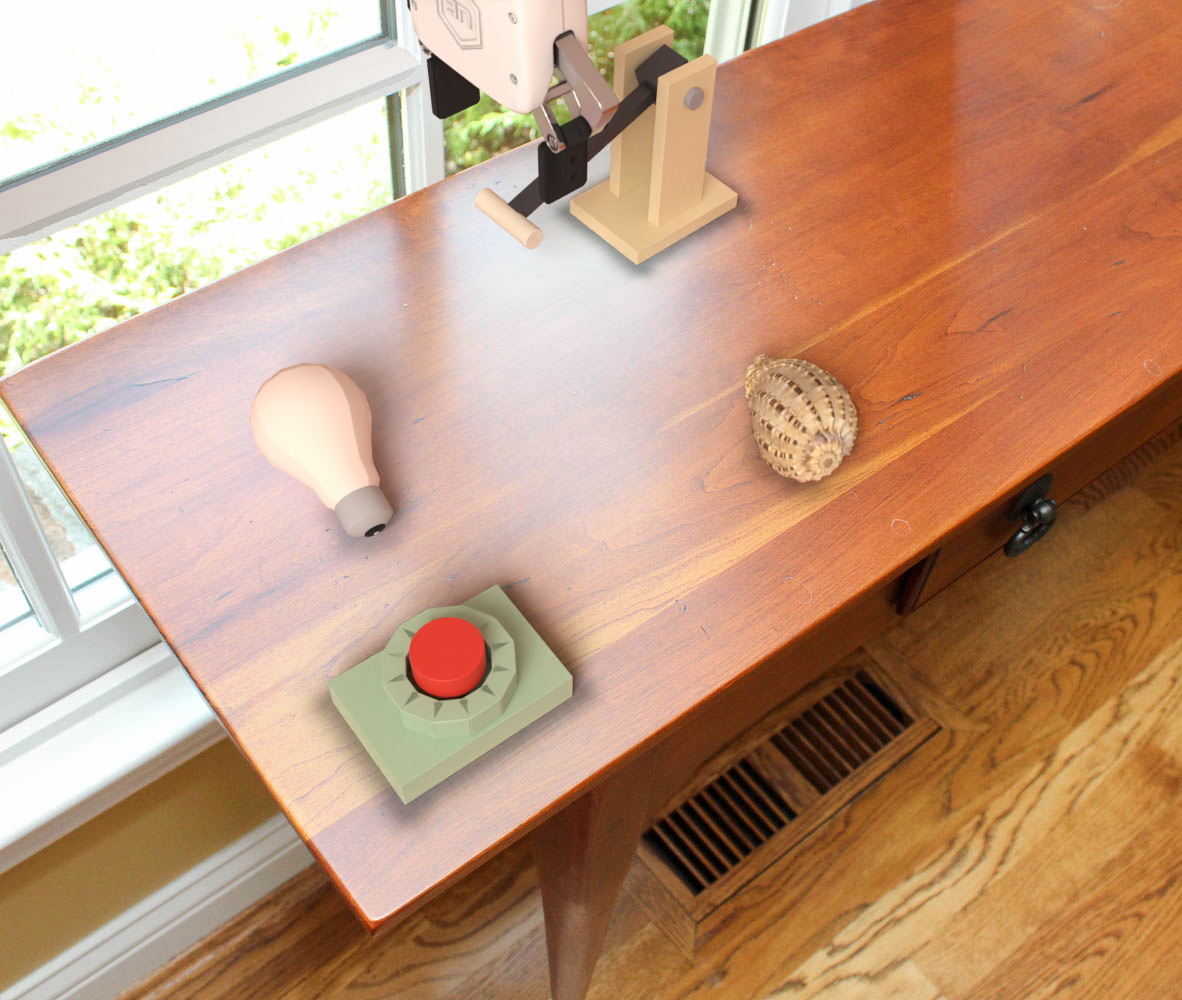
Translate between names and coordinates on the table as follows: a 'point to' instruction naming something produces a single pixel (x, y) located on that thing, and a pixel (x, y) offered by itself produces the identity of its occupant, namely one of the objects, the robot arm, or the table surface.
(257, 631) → the table surface
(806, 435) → the seashell
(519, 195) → the lever
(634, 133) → the bracket
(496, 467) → the table surface
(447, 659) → the button
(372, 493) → the light bulb
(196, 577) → the table surface
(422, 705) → the control block
